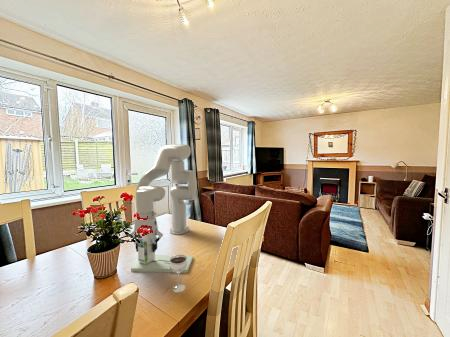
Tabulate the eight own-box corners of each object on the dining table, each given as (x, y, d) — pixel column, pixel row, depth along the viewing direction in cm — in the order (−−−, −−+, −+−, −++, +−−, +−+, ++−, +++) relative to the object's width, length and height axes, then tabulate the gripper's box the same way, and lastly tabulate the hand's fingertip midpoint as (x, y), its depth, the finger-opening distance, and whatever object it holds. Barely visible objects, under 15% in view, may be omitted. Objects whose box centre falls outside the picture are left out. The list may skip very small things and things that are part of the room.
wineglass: (174, 296, 73) (173, 265, 72) (167, 286, 78) (166, 258, 77) (190, 289, 77) (190, 260, 76) (183, 280, 82) (182, 252, 81)
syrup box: (137, 261, 93) (136, 232, 92) (147, 255, 98) (146, 227, 97) (146, 264, 91) (144, 234, 89) (155, 258, 96) (154, 230, 95)
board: (143, 257, 101) (143, 254, 101) (193, 258, 99) (193, 255, 99) (131, 271, 89) (131, 267, 89) (187, 272, 88) (187, 269, 87)
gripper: (166, 212, 96) (167, 247, 97) (131, 212, 97) (133, 246, 98) (160, 217, 89) (161, 255, 90) (123, 217, 89) (124, 254, 91)
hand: (146, 250), depth 94 cm, fingers closed on syrup box, 7 cm apart
